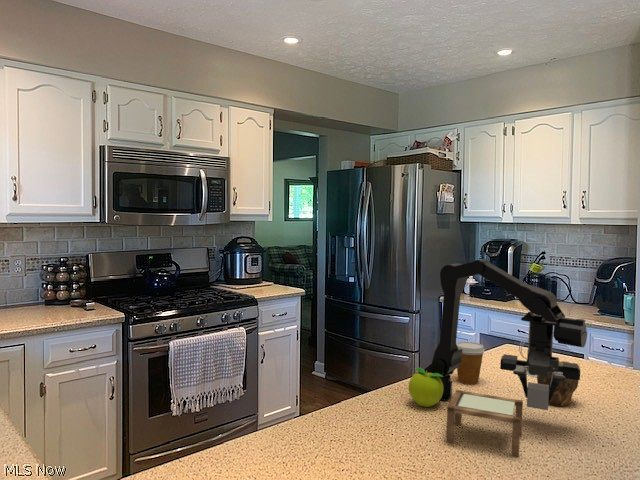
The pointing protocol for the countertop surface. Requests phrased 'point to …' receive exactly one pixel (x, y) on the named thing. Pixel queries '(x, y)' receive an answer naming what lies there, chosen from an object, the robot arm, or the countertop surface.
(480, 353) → the disposable coffee cup
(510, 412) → the trapdoor
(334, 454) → the countertop surface
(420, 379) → the fruit
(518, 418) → the frame
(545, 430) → the countertop surface
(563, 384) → the shell
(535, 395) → the gray cube
